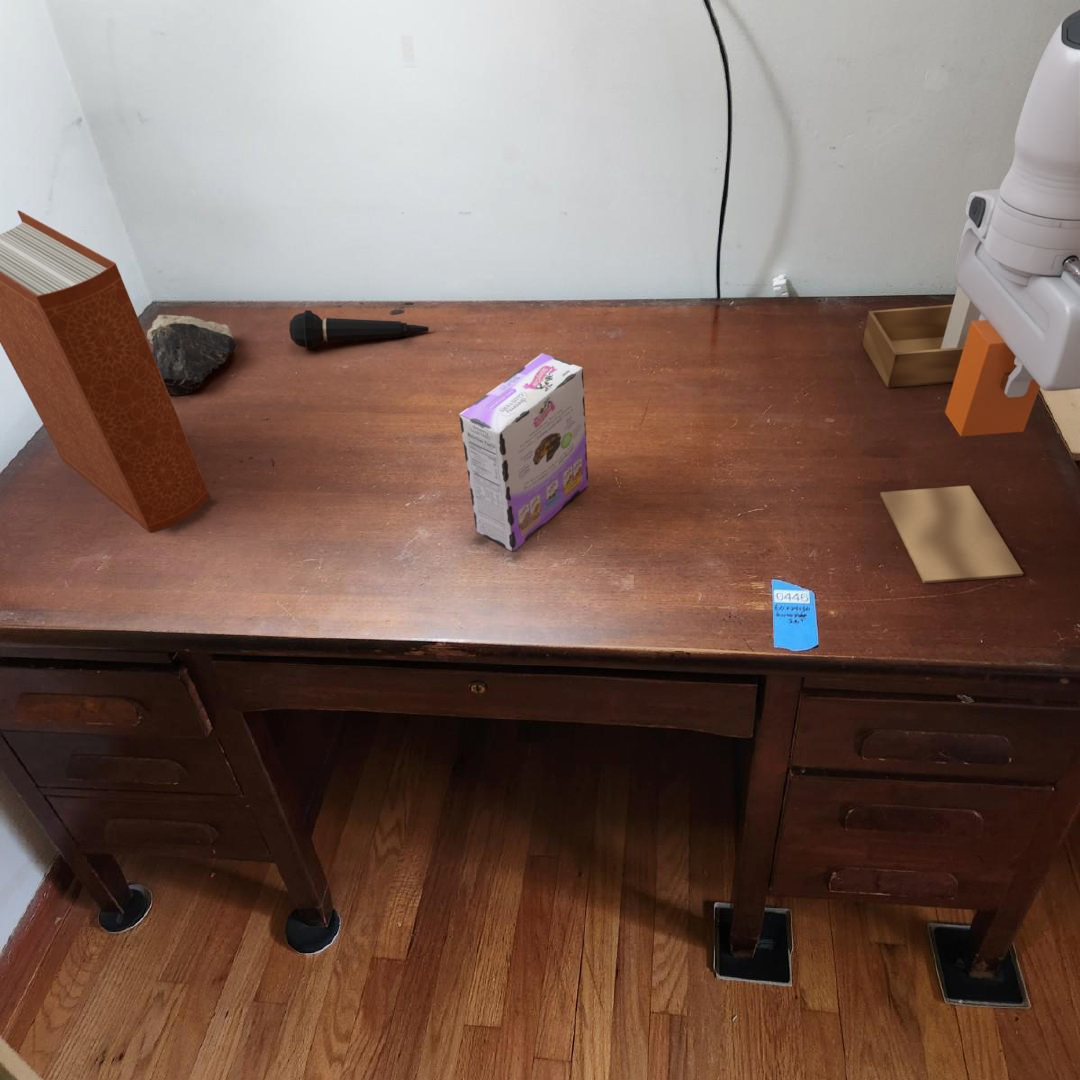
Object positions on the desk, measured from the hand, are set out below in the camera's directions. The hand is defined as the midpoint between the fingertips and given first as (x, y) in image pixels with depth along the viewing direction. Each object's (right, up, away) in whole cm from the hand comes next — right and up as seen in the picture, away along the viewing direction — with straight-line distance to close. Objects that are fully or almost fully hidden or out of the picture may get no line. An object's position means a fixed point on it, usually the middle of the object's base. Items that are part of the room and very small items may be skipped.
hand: (999, 376), depth 84 cm
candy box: (-43, -12, +20) cm, 49 cm away
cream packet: (+15, +9, +37) cm, 41 cm away
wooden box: (+11, +9, +37) cm, 40 cm away
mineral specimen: (-92, +9, +47) cm, 103 cm away
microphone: (-69, +14, +50) cm, 86 cm away
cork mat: (+1, -14, +13) cm, 20 cm away
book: (-92, -8, +29) cm, 97 cm away
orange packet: (0, -4, +3) cm, 5 cm away
